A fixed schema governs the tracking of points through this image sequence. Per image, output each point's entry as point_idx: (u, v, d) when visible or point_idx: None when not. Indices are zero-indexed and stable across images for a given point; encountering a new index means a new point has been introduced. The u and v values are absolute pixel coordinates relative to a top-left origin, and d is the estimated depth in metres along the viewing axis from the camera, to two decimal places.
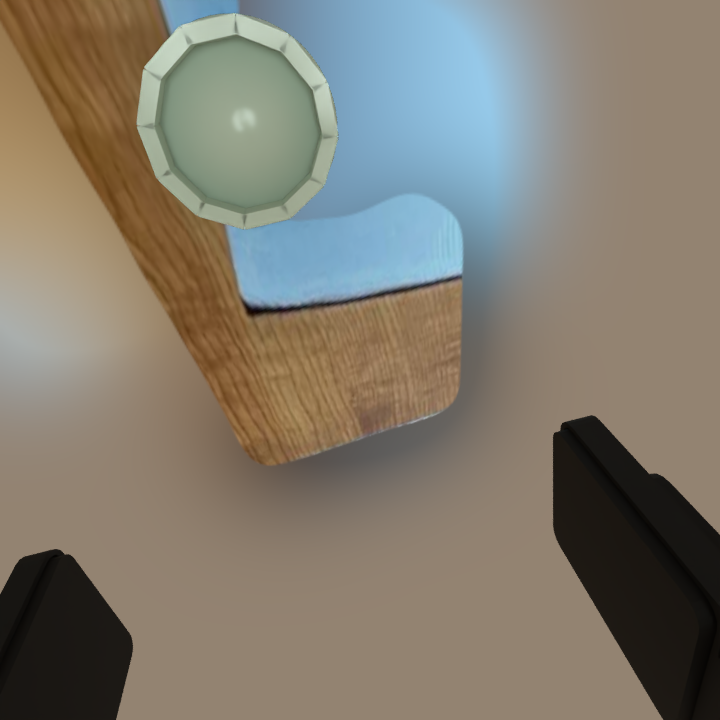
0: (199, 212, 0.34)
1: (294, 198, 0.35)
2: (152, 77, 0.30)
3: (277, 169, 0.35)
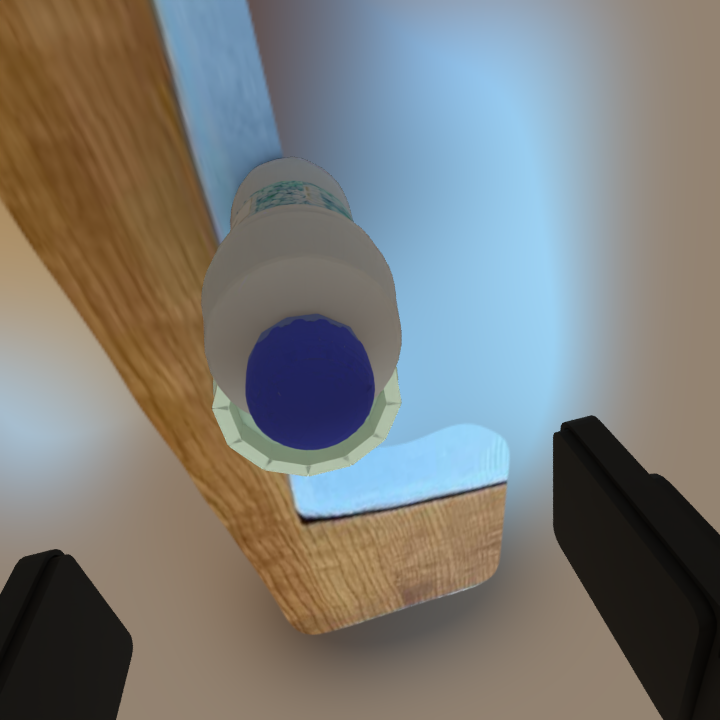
0: (266, 466, 0.36)
1: (356, 450, 0.36)
2: None
3: None
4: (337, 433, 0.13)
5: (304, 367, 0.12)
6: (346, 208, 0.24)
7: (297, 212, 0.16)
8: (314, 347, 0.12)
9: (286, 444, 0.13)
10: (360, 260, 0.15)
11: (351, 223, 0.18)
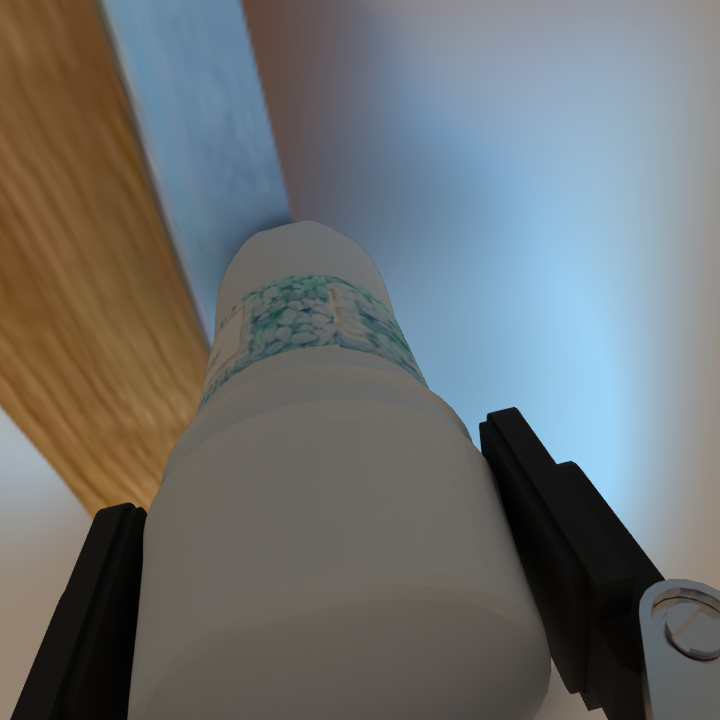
0: None
1: None
2: None
3: None
4: None
5: None
6: (389, 308, 0.16)
7: (329, 402, 0.08)
8: None
9: None
10: (474, 540, 0.07)
11: (424, 392, 0.10)
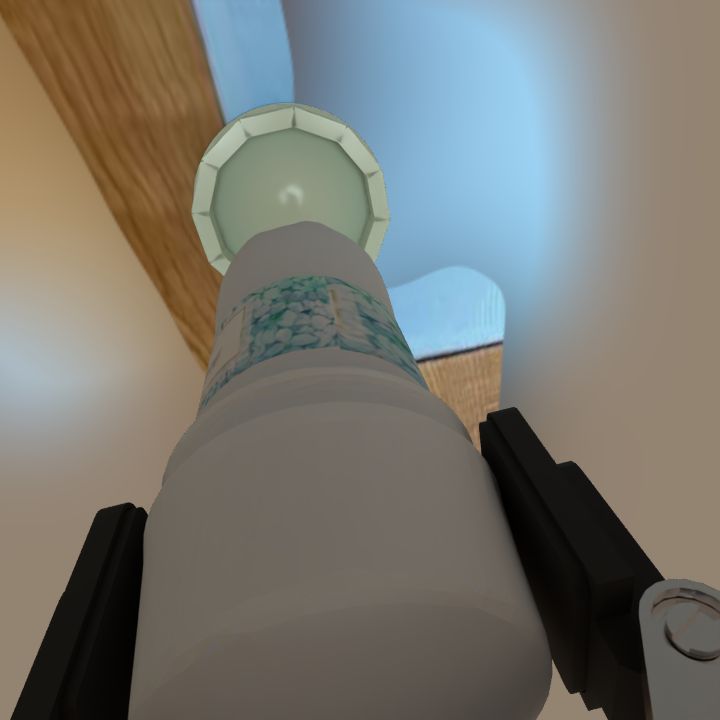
0: None
1: None
2: (209, 168, 0.30)
3: None
4: None
5: None
6: (389, 309, 0.16)
7: (329, 404, 0.08)
8: None
9: None
10: (474, 543, 0.07)
11: (424, 394, 0.10)
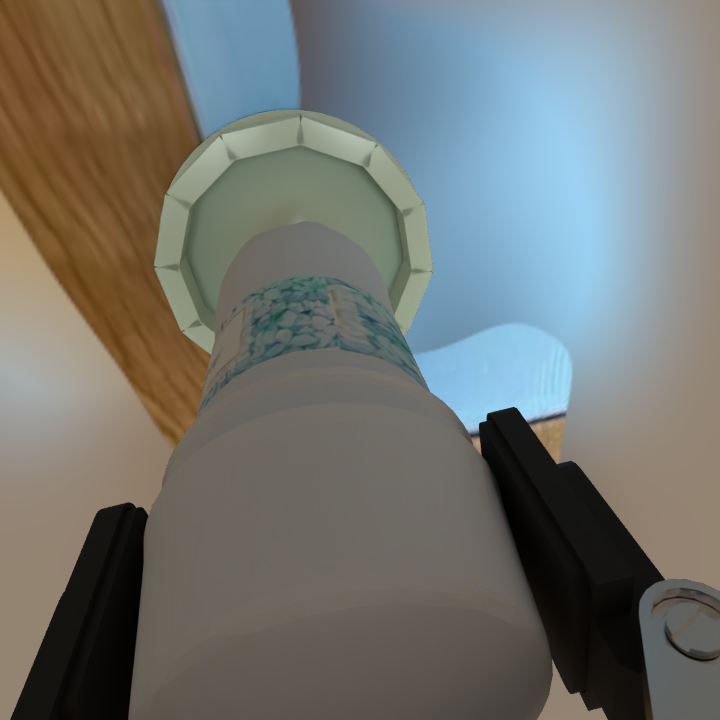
0: None
1: None
2: (178, 205, 0.21)
3: None
4: None
5: None
6: (389, 310, 0.16)
7: (330, 405, 0.08)
8: None
9: None
10: (475, 543, 0.07)
11: (424, 395, 0.10)
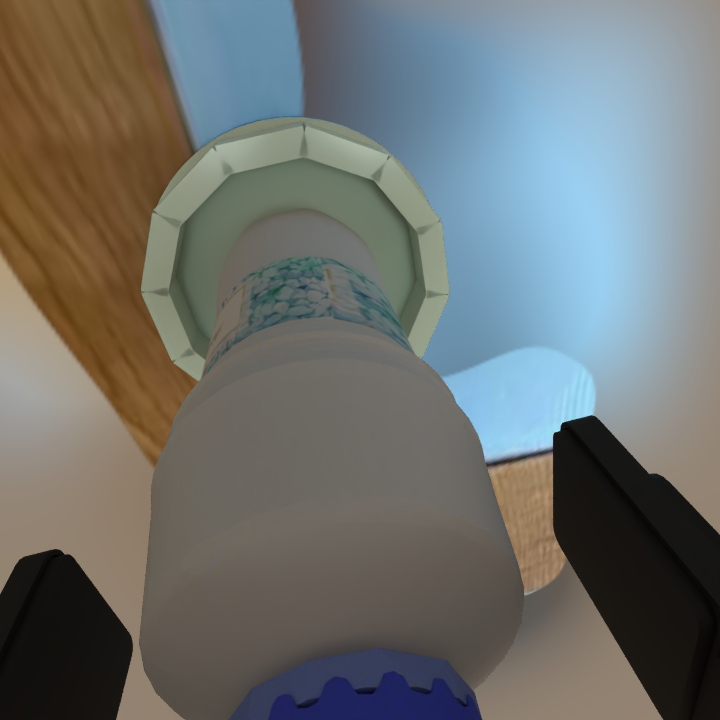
0: None
1: None
2: (167, 224, 0.19)
3: None
4: None
5: None
6: (383, 290, 0.16)
7: (322, 361, 0.09)
8: None
9: None
10: (451, 478, 0.07)
11: (411, 358, 0.10)
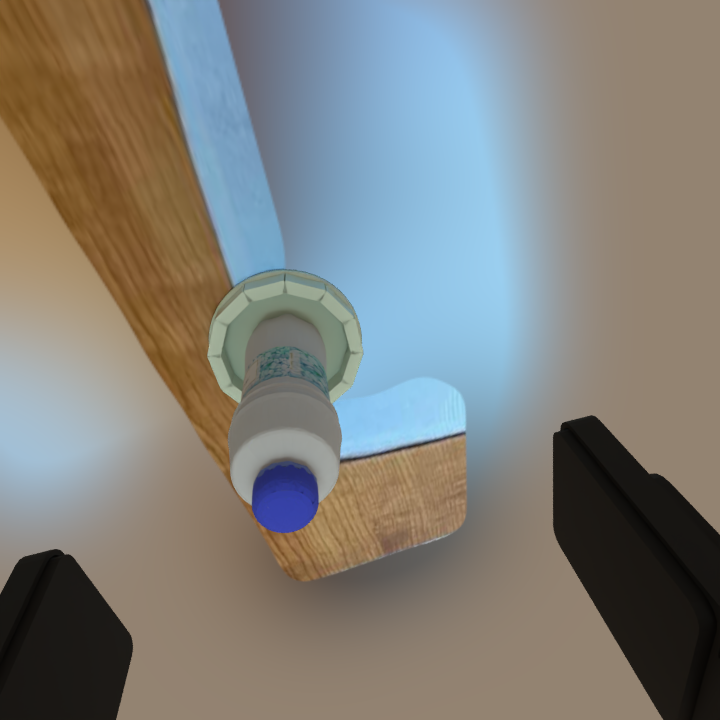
0: None
1: None
2: (220, 325, 0.39)
3: None
4: (298, 524, 0.25)
5: (279, 494, 0.25)
6: (319, 358, 0.37)
7: (281, 393, 0.29)
8: (284, 484, 0.25)
9: (272, 530, 0.26)
10: (313, 425, 0.28)
11: (314, 390, 0.31)
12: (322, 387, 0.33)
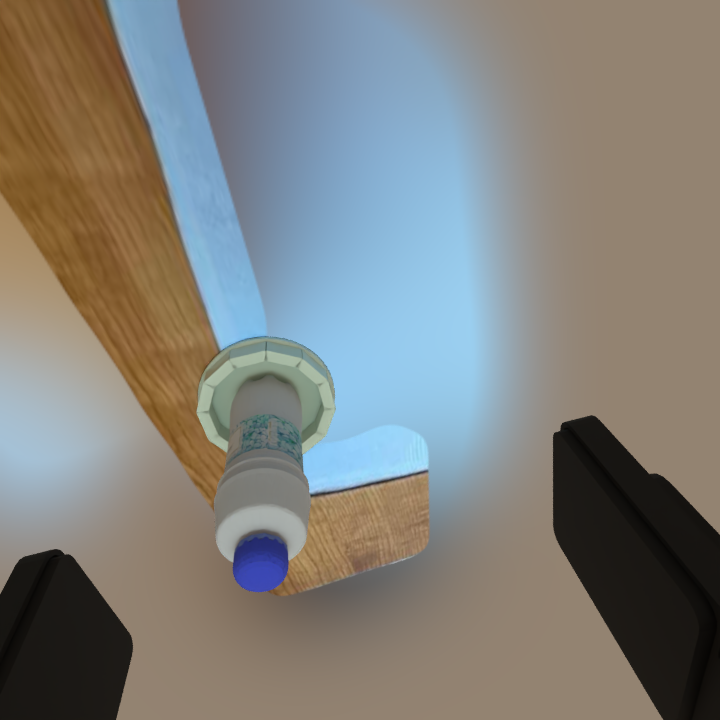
0: None
1: (304, 444, 0.49)
2: (208, 387, 0.44)
3: None
4: (271, 586, 0.31)
5: (255, 564, 0.30)
6: (294, 422, 0.42)
7: (259, 468, 0.34)
8: (260, 555, 0.30)
9: (250, 590, 0.31)
10: (285, 499, 0.33)
11: (287, 463, 0.36)
12: (296, 455, 0.38)
